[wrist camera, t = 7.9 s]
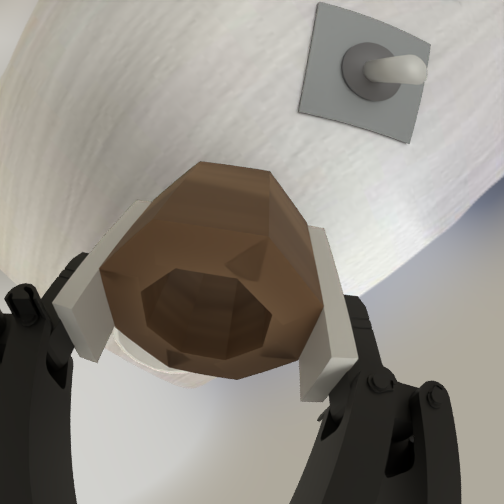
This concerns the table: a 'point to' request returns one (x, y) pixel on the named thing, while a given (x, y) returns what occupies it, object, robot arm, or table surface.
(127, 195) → the table surface
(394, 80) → the grey peg stand
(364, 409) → the robot arm
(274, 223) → the brown faceted ring
